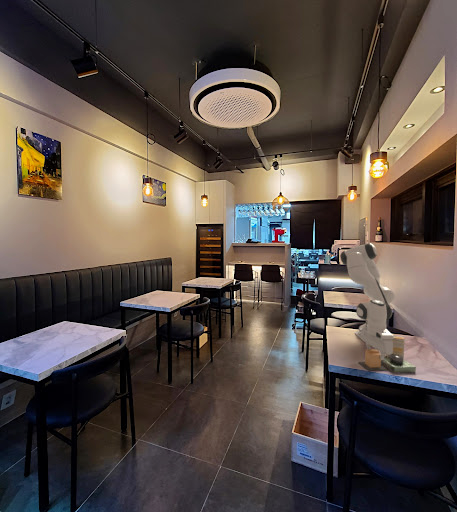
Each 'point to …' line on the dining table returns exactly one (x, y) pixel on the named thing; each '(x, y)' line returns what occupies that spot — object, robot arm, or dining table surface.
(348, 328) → the dining table surface
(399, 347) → the supplement box
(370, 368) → the mount pad
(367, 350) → the stepped tan block
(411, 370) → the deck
